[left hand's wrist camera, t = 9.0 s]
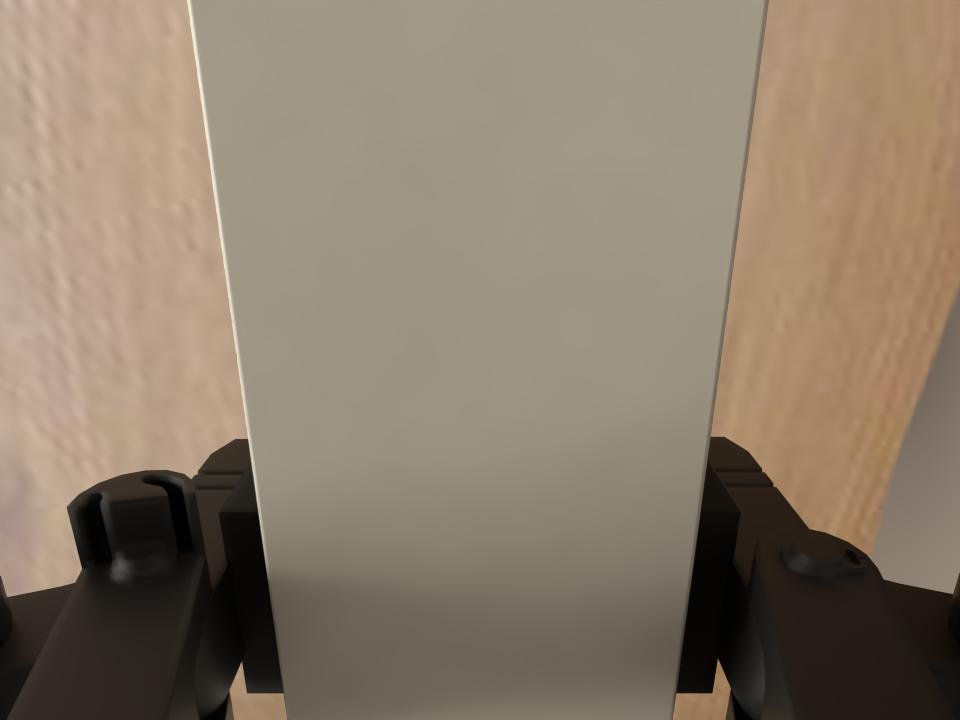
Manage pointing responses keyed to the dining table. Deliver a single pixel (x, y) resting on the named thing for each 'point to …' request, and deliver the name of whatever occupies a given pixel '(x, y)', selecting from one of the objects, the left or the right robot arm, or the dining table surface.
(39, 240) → the dining table surface
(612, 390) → the bar
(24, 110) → the dining table surface
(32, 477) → the dining table surface
